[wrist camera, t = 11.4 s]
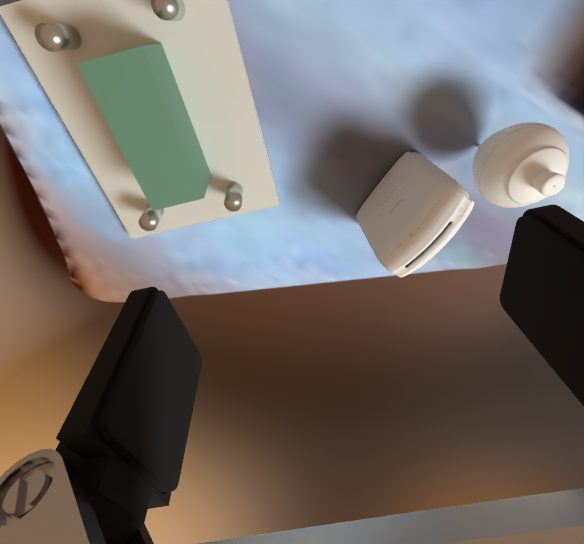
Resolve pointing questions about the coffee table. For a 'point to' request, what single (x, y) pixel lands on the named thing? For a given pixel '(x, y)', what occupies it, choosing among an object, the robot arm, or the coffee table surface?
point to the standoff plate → (191, 82)
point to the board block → (150, 123)
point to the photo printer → (412, 213)
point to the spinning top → (521, 165)
